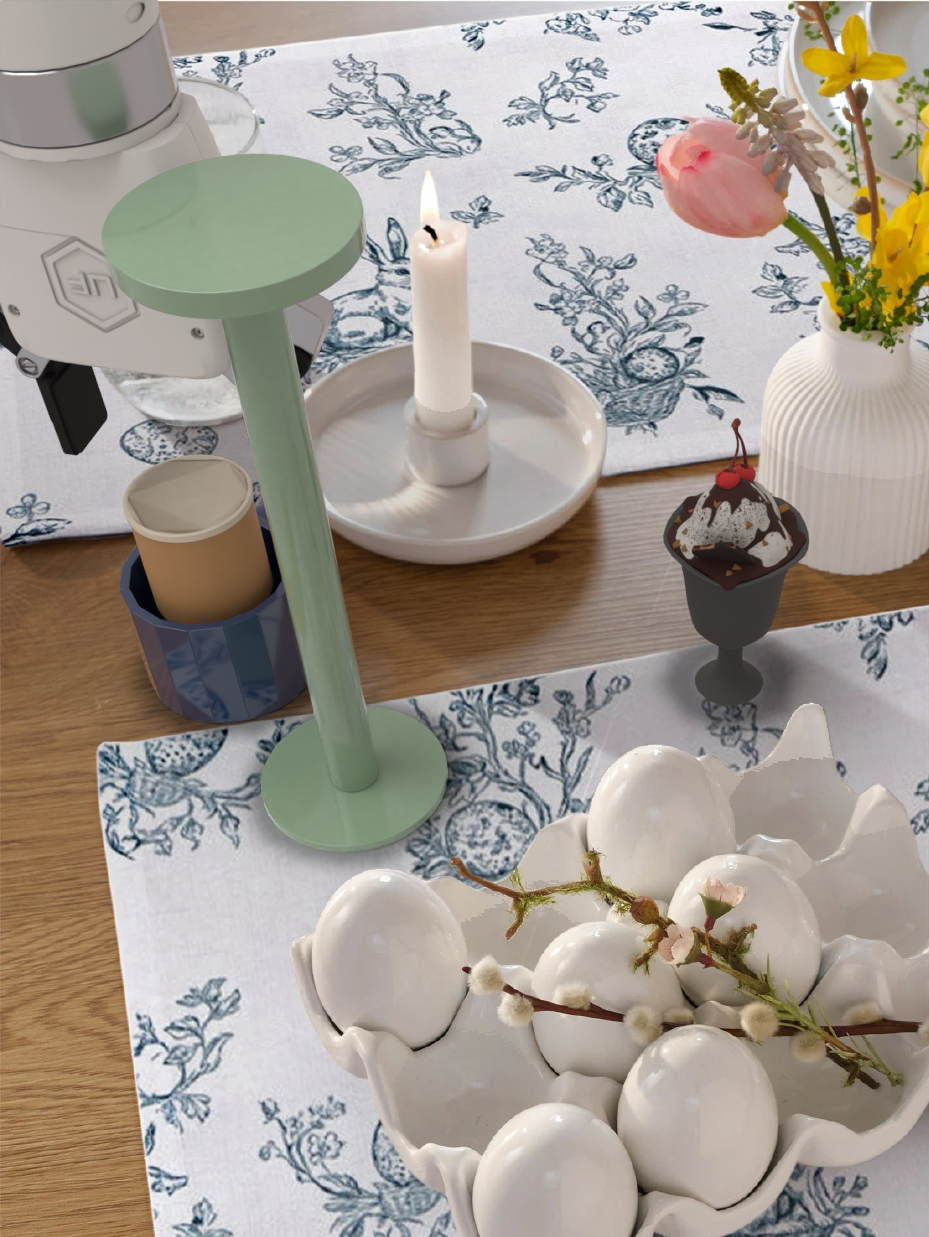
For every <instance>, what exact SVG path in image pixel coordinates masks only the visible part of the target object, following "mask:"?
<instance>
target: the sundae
mask: <svg viewBox="0 0 929 1237" xmlns="http://www.w3.org/2000/svg"><path fill="white" fill-rule="evenodd" d="M741 424H742V421H741V419H740V418H739V417H736V418H734V419H733V420H732V422H731V424H730V427H731V428H732V430H733V433H734V437H735V440H736V448H735V452H734V455H733V458H732V460H731V462H730V464H729V467H723V468H721V469H720V470H718V471H717V472H716V473H715V478H714V482H715V483H714V484H713V485H711V486H709V487H708V488H707V489H706V490H705V491H702V492H701V493H698V494H696V495H689V496H687V497H686V498H684V500H683V502H681V503H680V505H679V506H678V507H677V508H676V509H675V510H674V511H673V512H672V514H671V515H670V517H669V518H668V520H667V522H666V524H665V527H664V531H663V535H662V539H663V540H662V542H663V544H664V546H665V548H666V550H667V552H668V553H669V554H670V556H671V557H672V558H673V559H674V560H675V561H676V562H677V563H679V564H680V567H681V570H682V574H683V581H684V588H685V597H686V603H687V604H686V605H687V608H688V611H689V615H690V620H691V624H692V625H693V627H694V628H695V630H696V632H697V633H698V634H699V635H700V636H701V637H702V638H704V639H705V640H706V641H708V642H709V643H711V644H713V645H715V646H717V647H718V654H717V657H716V659H713V660H710V661H709V662H707V663H705V664H703V665H702V667H700V668H699V669H698V670H697V672H696V674H695V675H694V676H695V677H694V686H695V687H696V689H697V691H698V693H699V694H700V695H701V696H702V697H704V698H705V699H706V700H707V701H709V702H711V703H712V704H714V705H715V704H716V705H718V706H723V707H735V706H740V705H743V704H746V703H748V702H750V701H752V700H753V699H755V698H756V697H757V696H758V695H759V694H760V693H761V691H762V690H763V687H764V678H763V676H762V674H761V672H760V671H759V670H758V668H757V667H755V666H754V665H753V664H752V663H750V662H748V661H747V660H744V659H743V651H744V648H745V647H747V646H750V645H752V644H754V643H756V642H757V641H759V640H761V639H763V637H764V636H765V635H766V634H767V633H769V631H770V630H771V628H772V625H773V622H774V620H775V618H776V615H777V612H778V608H779V604H780V600H781V595H782V593H783V592H782V591H783V587H784V583H785V579H786V576H787V573H788V571H789V569H792V568H793V567H794V566H796V564H798V563H799V562H800V561H801V560H803V558H805V557H806V554H807V552H808V551H809V546H810V536H809V535H810V534H809V533H810V532H809V530H808V527H807V524H806V521H805V520H804V518H803V516H802V514H801V512H800V511H798V509H796V507H795V506H794V505H792V504H791V503H789V501H787V500H785V499H783V498H781V497H777V496H774V495H773V493H772V492H770V491H769V490H768V488H766V487H765V485H763V484H762V483H760V482H758V481H756V480H755V479H756V475H757V473H756V469H755V468H754V466H753V465H752V464H750V463H749V462H748V454H747V449H746V446H745V442H744V440H743V437H742V435H741V433H740V432H739V427H740V425H741ZM740 446H741V451H742V458H743V461H740V462H737V459H738V455H739V451H740Z"/></svg>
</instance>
